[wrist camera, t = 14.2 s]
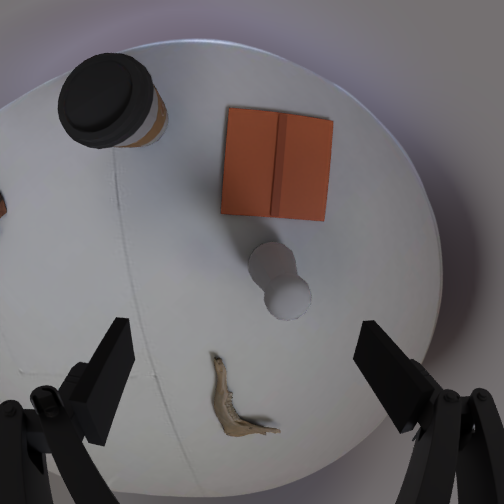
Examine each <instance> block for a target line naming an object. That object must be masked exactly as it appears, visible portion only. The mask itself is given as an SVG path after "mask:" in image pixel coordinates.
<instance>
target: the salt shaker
mask: <svg viewBox="0 0 504 504" xmlns="http://www.w3.org/2000/svg"><path fill="white" fill-rule="evenodd" d="M249 273H250V275H251V277H252V279H253V281H254V282H255V283H256V284H257V285H258V286H259V287H260V288H261V289H262V290H263V291H264V292H265V294H264V302H265V305H266V307H267V309H268V311H269V312H270V313H271V314H272V315H273V316H274V317H276V318H277V319H279V320H285V321H290V320H294V319H298V318H299V317H300V316H302V315H303V314H305V313H306V311H307V310H308V308H309V306H310V305H311V296H312V295H311V291H310V289H309V286H308V284H307V283H306V282H305V281H304V280H303V279H302V278H300V277H299V276H298V275H297V267H296V260H295V258H294V255H293V252H292V251H291V250H290V249H289V248H288V247H286V246H285V245H284V244H280V243H276V242H269V243H264V244H262V245H260V246H259V247H258V248H256V249H255V250H254V251H253V253H252V255H251V257H250V258H249Z"/></svg>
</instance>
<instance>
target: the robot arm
mask: <svg viewBox="0 0 504 504" xmlns="http://www.w3.org/2000/svg"><path fill="white" fill-rule="evenodd" d="M353 360H354V361H355V363H356V365H357V366H358V368H359V369H360V371H361V372H362V374H363V375H364V377H365V379H366V380H367V382H368V383H369V385H370V386H371V388H372V390H373V391H374V393H375V394H376V396H377V397H378V399H379V401H380V402H381V404H382V405H383V407H384V409H385V410H386V412H387V413H388V415H389V417H390V418H391V420H392V421H393V423H394V425H395V426H396V428H397V429H398V431H399V433H400V434H401V433H404V432H408V431H411V430H413V428H414V427H415V425H416V423H417V422H418V423H419V424H420V426H421V427H420V428H419V430H418V432H417V433H416V435H415V436H414V438H413V440H412V441H414V440H415V439H416V441H415V445H414V448H413V453H412V456H411V459H410V462H409V466H408V469H407V473H406V475H405V478H404V481H403V484H402V487H401V490H400V493H399V495H398V498H397V501H396V503H395V504H449V503H450V498H451V494H452V488H453V483H454V478H455V472H456V477H457V489H458V504H504V428H503V425H502V422H501V419H500V416H499V413H498V411H497V408H496V405H495V403H494V400H493V398H492V396H491V394H490V393H489V392H488V391H487V390H485V389H482V388H476V389H474V390H473V392H472V393H471V395H470V396H466V397H460V395H459V394H458V393H457V392H455V391H453V390H449V389H445V390H443V389H442V388H441V386H440V385H439V384H438V383H437V382H436V381H435V380H434V378H433V377H432V376H431V375H429V373H428V372H427V371H425V368H424V367H423V366H422V365H421V364H420V363H418V362H417V361H415V360H414V359H409V358H408V357H407V356H406V355H405V354H404V353H403V352H402V350H401V349H400V348H399V347H398V346H397V345H396V344H395V343H394V342H393V340H392V339H391V338H390V337H389V336H388V335H387V334H386V333H385V332H384V331H383V329H382V328H381V327H380V326H379V325H378V324H377V323H376V322H375V321H374V320H370V321H363V323H362V327H361V331H360V335H359V339H358V342H357V346H356V350H355V353H354V357H353ZM134 361H135V356H134V350H133V343H132V337H131V330H130V323H129V318H118V317H116V318H115V320H114V321H113V323H112V325H111V326H110V328H109V329H108V331H107V333H106V334H105V336H104V338H103V339H102V341H101V343H100V344H99V346H98V348H97V349H96V351H95V353H94V354H93V356H92V358H91V360H90V361H89V363H83V362H79V363H77V364H76V365H75V366H73V367H72V368H71V370H70V372H69V373H68V376H67V377H66V378H65V381H63V383H62V385H61V387H60V388H59V390H58V391H57V389H56V388H54V387H52V386H48V385H45V386H40V387H38V388H36V389H35V390H33V391H32V393H31V395H30V401H31V403H32V405H33V407H34V409H23V408H22V406H21V405H20V403H19V402H17V401H15V400H7V401H4V402H3V403H1V404H0V504H53V500H52V495H51V490H50V484H49V477H48V470H47V463H46V454H45V453H52V456H53V458H54V460H55V463H56V465H57V467H58V470H59V472H60V474H61V476H62V478H63V480H64V482H65V484H66V486H67V488H68V490H69V492H70V494H71V496H72V498H73V500H74V502H75V503H76V504H120V503H119V502H118V501H117V499H116V497H115V496H114V494H113V493H112V492H111V490H110V489H109V487H108V485H107V484H106V482H105V481H104V479H103V478H102V476H101V474H100V473H99V471H98V470H97V468H96V466H95V464H94V463H93V461H92V459H91V458H90V456H89V454H88V452H87V450H86V448H85V447H84V445H83V443H82V441H83V438H84V436H85V437H86V439H87V441H88V443H91V444H96V445H100V446H105V443H106V440H107V437H108V434H109V431H110V428H111V425H112V422H113V419H114V416H115V413H116V410H117V407H118V404H119V401H120V399H121V396H122V393H123V390H124V387H125V385H126V382H127V379H128V377H129V374H130V371H131V369H132V366H133V363H134ZM474 428H475V430H474Z"/></svg>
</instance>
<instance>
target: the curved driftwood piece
mask: <svg viewBox="0 0 504 504" xmlns="http://www.w3.org/2000/svg"><path fill="white" fill-rule="evenodd" d="M214 366H215V369H216V372H217V387H216V392H215V397H214V409H215V412H216V415H217V417H218V419H219V421H220V422H221V424H222V425H223V427H224V432H225V433H226V435H229V436H234V437H239V436H244V435H248V434H253V433H260V434H263V435H266V432H272V433H280V432H281V431H280V430H279V429H276V428H269V427H263V426H258V425H254V424H251V423H249V422H247V421H244V420H242V419H240V418H239V416H238V415H237V413H236V411H234V410H235V409H233V404H232V403H231V402H232V401H231V399H232V398H233V397H232V395H233V393H232V392H228V390H227V381H226V368H225V366H224V364H223V362H222V359H220V358H218V359H216V357H214Z"/></svg>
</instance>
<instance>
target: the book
mask: <svg viewBox="0 0 504 504" xmlns="http://www.w3.org/2000/svg"><path fill="white" fill-rule="evenodd" d="M332 134H333V121H330V120H325V119H319V118H313V117H307V116H300V115H294V114H286V113H279V112H270V111H261V110H251V109H239V108H229V114H228V125H227V137H226V149H225V161H224V174H223V188H222V203H221V214H229V215H246V216H261V217H275V218H289V219H302V220H314V221H324V218H325V210H326V201H327V192H328V182H329V171H330V160H331V148H332Z"/></svg>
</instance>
